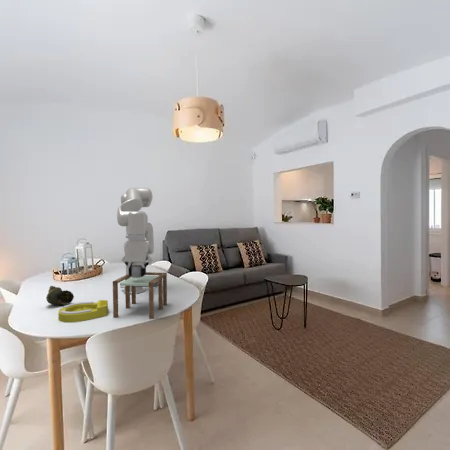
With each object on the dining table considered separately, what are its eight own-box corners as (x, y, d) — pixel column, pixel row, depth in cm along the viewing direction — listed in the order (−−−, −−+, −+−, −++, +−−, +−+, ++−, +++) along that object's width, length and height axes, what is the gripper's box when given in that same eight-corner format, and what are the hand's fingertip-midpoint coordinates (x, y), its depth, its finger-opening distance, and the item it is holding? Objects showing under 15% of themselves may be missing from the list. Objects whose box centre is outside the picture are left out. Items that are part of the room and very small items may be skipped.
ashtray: (106, 318, 130) (106, 308, 130) (55, 325, 123) (54, 313, 122) (108, 307, 145) (107, 297, 145) (62, 312, 138) (61, 302, 138)
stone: (129, 277, 132) (129, 267, 132) (134, 275, 138) (134, 264, 137) (140, 277, 132) (140, 267, 132) (144, 275, 137) (144, 265, 137)
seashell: (54, 310, 140) (54, 290, 140) (43, 306, 146) (42, 287, 146) (75, 304, 149) (75, 285, 149) (63, 300, 155) (63, 282, 155)
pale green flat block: (119, 293, 132) (119, 283, 132) (134, 285, 148) (133, 275, 148) (149, 294, 131) (149, 284, 130) (161, 285, 146) (161, 276, 146)
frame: (113, 317, 131) (112, 281, 130) (133, 302, 151) (132, 271, 151) (152, 319, 129) (152, 282, 128) (167, 304, 149) (166, 272, 149)
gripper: (115, 238, 131) (116, 277, 132) (151, 238, 129) (151, 278, 130) (123, 236, 138) (123, 273, 139) (156, 237, 136) (157, 274, 137)
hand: (137, 275), depth 135 cm, fingers closed on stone, 5 cm apart
